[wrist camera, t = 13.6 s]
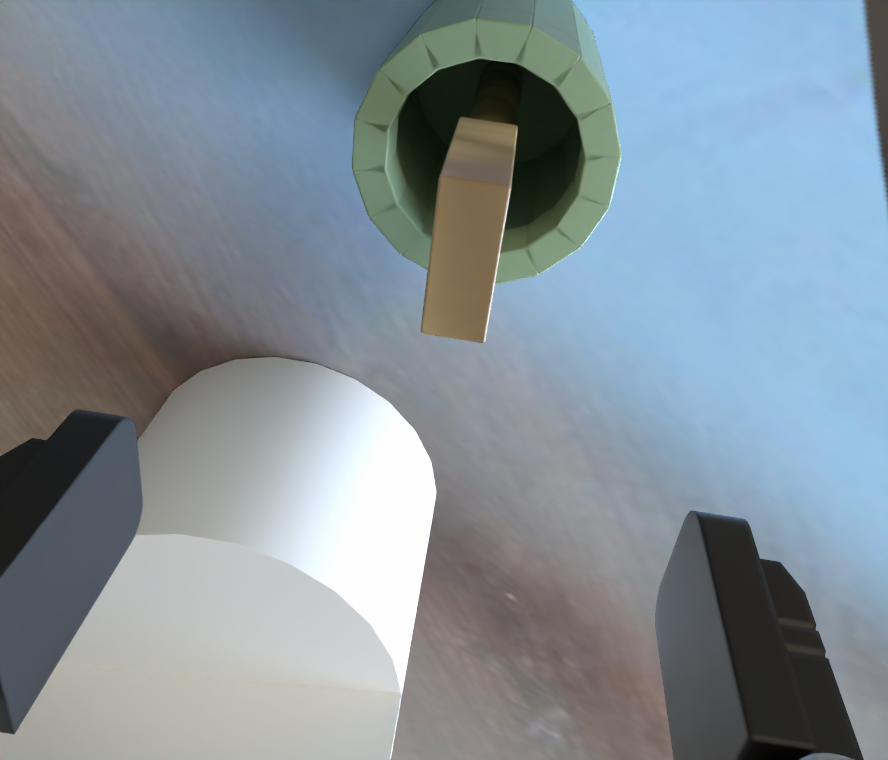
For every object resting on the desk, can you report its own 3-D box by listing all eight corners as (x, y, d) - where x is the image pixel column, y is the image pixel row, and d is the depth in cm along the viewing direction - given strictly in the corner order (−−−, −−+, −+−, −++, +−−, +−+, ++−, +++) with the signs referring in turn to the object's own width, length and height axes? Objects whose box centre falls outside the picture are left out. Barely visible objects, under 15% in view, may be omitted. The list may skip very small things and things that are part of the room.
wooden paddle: (473, 124, 36) (416, 333, 20) (487, 26, 34) (434, 175, 18) (514, 130, 36) (488, 345, 20) (530, 33, 34) (516, 187, 18)
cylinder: (437, 596, 53) (349, 1191, 29) (176, 576, 54) (-108, 1126, 31) (435, 365, 44) (304, 960, 20) (120, 348, 45) (-345, 884, 22)
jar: (466, -71, 33) (430, -39, 23) (637, 39, 34) (676, 115, 24) (375, 111, 37) (311, 206, 27) (532, 203, 38) (526, 325, 28)
